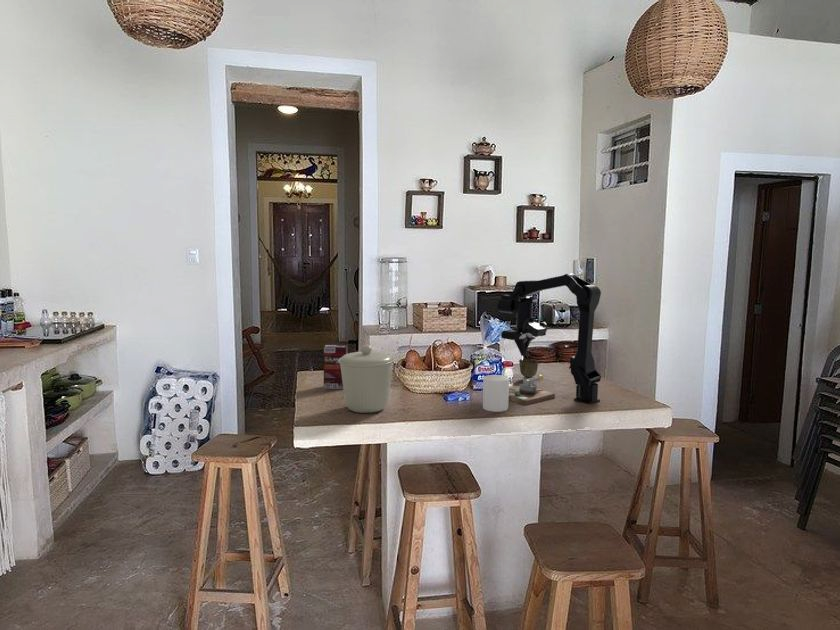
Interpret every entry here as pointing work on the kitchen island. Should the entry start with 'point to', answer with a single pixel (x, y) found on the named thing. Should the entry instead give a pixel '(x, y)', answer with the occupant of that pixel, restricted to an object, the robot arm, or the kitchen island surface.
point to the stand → (529, 396)
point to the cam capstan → (530, 385)
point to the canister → (366, 379)
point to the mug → (495, 393)
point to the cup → (528, 368)
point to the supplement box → (333, 366)
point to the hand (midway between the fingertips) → (523, 355)
